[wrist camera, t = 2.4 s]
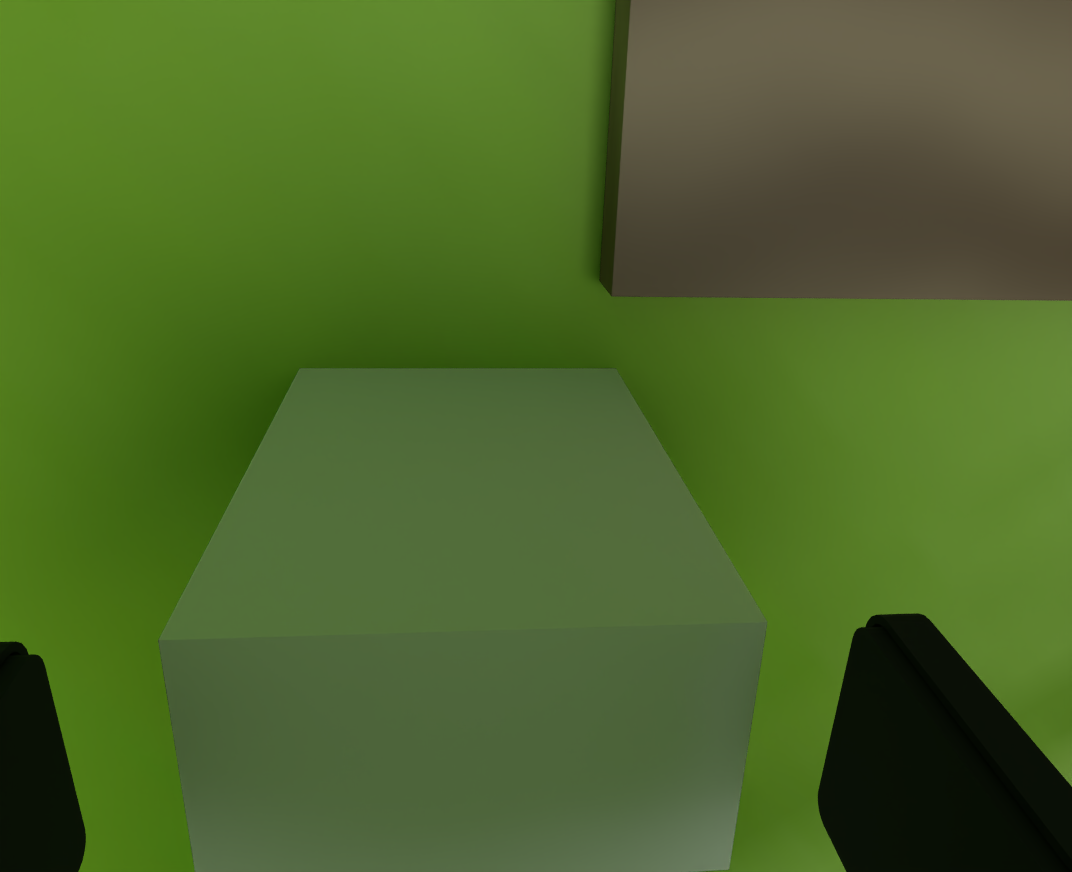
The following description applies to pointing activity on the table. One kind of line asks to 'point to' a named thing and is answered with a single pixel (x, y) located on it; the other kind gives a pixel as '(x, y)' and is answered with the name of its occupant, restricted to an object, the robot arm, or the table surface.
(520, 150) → the table surface
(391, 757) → the plain rectangular box
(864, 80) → the shelf
